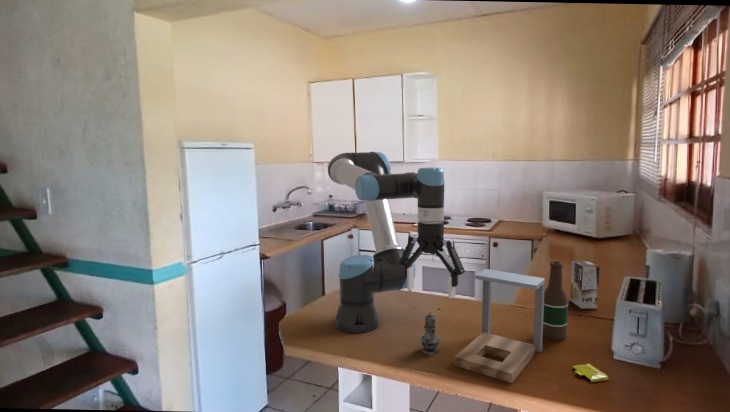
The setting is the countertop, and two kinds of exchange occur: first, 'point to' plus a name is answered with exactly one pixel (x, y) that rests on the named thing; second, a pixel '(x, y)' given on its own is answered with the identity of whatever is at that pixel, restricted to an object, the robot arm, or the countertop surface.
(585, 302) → the coffee box
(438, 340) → the grey chess piece
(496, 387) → the countertop surface
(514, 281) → the grey arch frame
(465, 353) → the socket
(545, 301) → the beer bottle
